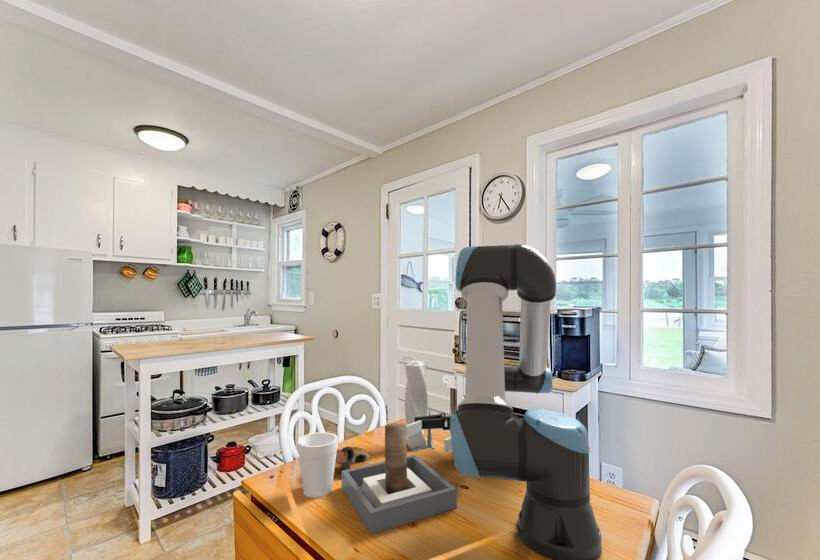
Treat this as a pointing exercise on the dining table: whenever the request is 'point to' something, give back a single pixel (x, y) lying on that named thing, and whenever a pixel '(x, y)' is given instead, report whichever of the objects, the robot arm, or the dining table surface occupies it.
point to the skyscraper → (416, 403)
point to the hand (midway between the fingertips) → (423, 438)
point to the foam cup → (317, 462)
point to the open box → (402, 510)
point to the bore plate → (379, 497)
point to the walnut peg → (395, 457)
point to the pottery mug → (345, 458)
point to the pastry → (359, 455)
